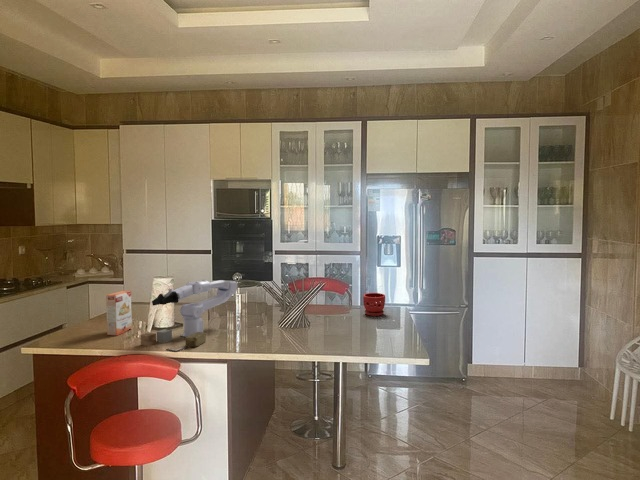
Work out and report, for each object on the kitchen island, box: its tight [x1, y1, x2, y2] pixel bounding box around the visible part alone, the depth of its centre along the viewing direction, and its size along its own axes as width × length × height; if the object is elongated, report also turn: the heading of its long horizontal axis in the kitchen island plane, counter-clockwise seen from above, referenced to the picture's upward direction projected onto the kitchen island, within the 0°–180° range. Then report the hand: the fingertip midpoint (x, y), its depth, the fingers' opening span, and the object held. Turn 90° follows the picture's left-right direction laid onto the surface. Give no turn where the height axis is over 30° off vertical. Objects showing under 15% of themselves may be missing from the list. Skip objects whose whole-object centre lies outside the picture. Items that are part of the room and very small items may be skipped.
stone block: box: [184, 331, 207, 348], centre depth 237 cm, size 6×12×5 cm, turn 167°
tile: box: [165, 345, 187, 353], centre depth 229 cm, size 6×6×1 cm
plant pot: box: [362, 292, 386, 317], centre depth 299 cm, size 13×13×12 cm
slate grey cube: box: [156, 328, 173, 343], centre depth 244 cm, size 5×5×5 cm
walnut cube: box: [140, 331, 157, 347], centre depth 238 cm, size 5×5×5 cm
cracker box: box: [105, 290, 133, 337], centre depth 260 cm, size 14×6×21 cm, turn 168°
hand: (157, 302), depth 235 cm, fingers open, 7 cm apart
